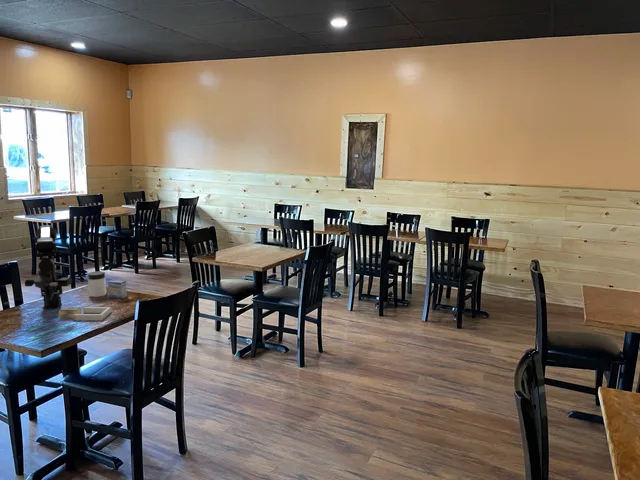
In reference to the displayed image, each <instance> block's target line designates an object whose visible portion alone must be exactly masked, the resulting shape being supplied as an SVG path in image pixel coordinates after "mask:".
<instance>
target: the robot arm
mask: <svg viewBox="0 0 640 480" xmlns="http://www.w3.org/2000/svg"><path fill="white" fill-rule="evenodd" d="M57 236H58V235H57V229H56V228H54V227H52V225H49V224H47V225H41V226H40V225H39V228H38V229H36V238H37V240H36V243H35V245H34V246H35V247H34V248H35V258H38V260H39V262H38V265H37V266H38V269H39V270H38V275H37V276H35V277H29V278H28V279H26V280H24V287H33V286H35V288H38V289H40V295H41V296H40V297H42V298H43V304H44V305H43V307H42V309H58V308H59V307H60V306H61V305H63V303H62V298H61V295H62V294H63V287H68V286H69V285H71V284H73V279H72V278H71V277H61V278H59V277H58V276H57V275H56V270H57V267H55V257H56V256H57V254H58V248H57V247H58V246H57V244H56V239H58V237H57ZM58 278H59V279H58Z"/></svg>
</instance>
